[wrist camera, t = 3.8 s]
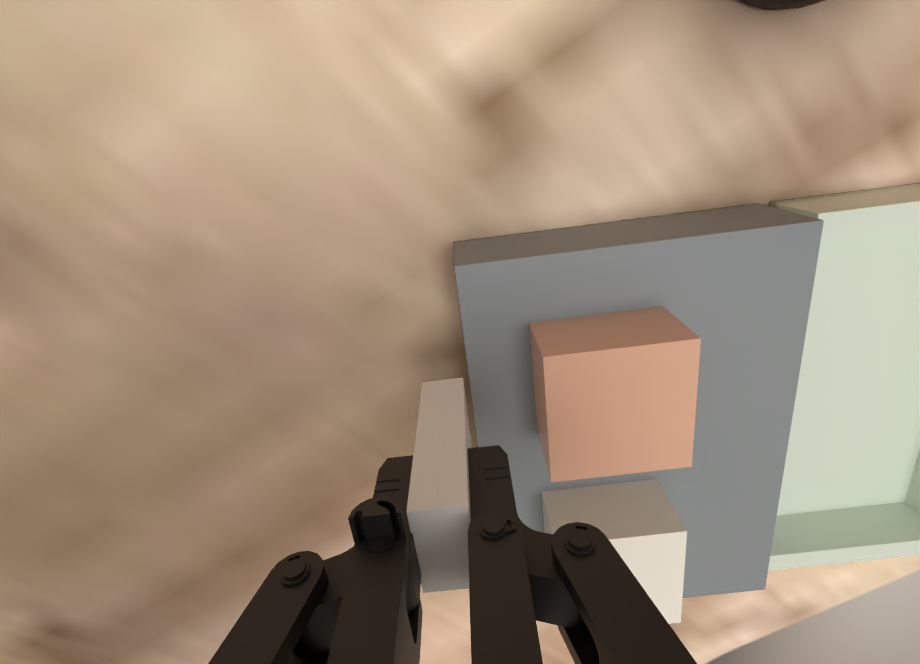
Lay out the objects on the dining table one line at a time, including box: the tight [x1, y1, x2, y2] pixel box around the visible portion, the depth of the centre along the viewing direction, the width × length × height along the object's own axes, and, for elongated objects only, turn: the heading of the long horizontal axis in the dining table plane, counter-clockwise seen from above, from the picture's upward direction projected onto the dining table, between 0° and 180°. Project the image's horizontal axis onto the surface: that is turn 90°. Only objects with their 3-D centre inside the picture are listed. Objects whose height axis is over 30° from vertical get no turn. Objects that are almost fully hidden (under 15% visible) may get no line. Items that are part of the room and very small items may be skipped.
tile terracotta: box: [529, 306, 701, 482], centre depth 18 cm, size 5×5×3 cm
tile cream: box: [542, 479, 687, 624], centre depth 21 cm, size 5×5×3 cm
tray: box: [768, 183, 920, 571], centre depth 23 cm, size 10×18×3 cm, turn 7°
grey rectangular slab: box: [454, 204, 824, 598], centre depth 23 cm, size 13×18×4 cm
